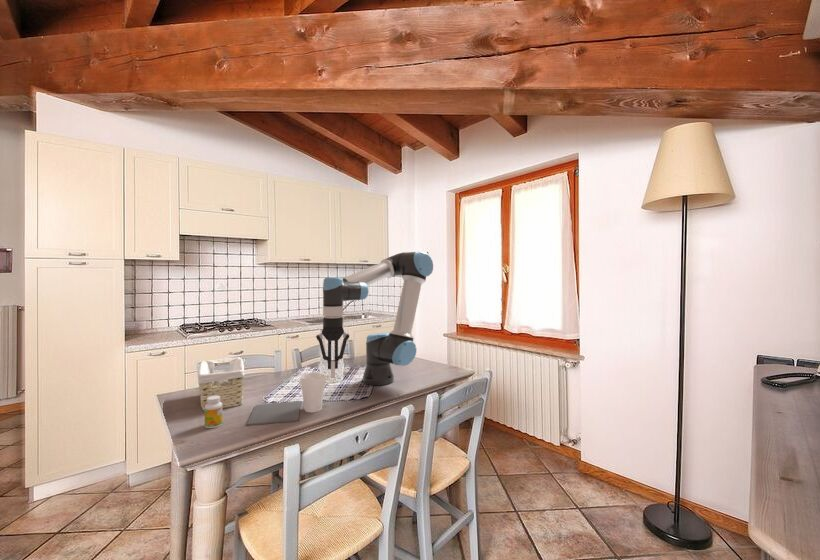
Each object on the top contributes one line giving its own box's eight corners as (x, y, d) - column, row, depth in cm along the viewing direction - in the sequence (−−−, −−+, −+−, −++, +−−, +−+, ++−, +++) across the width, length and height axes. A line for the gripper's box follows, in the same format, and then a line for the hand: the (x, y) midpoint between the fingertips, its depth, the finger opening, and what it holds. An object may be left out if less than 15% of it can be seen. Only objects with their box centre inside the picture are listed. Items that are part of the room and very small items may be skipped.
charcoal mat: (300, 402, 144) (300, 401, 144) (298, 420, 127) (298, 419, 127) (255, 406, 140) (255, 404, 140) (246, 425, 123) (246, 424, 123)
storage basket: (245, 406, 140) (244, 369, 140) (197, 413, 133) (196, 374, 133) (242, 388, 162) (242, 356, 161) (200, 394, 154) (200, 360, 154)
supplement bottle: (201, 428, 121) (200, 399, 120) (212, 421, 126) (212, 394, 126) (215, 429, 120) (214, 400, 119) (226, 422, 125) (225, 395, 125)
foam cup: (295, 411, 136) (295, 377, 135) (312, 403, 144) (312, 371, 144) (314, 415, 131) (314, 380, 131) (330, 407, 139) (330, 374, 139)
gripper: (349, 315, 144) (348, 373, 144) (315, 316, 141) (315, 375, 141) (350, 317, 136) (350, 378, 137) (315, 318, 133) (315, 381, 134)
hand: (332, 377), depth 139 cm, fingers closed
